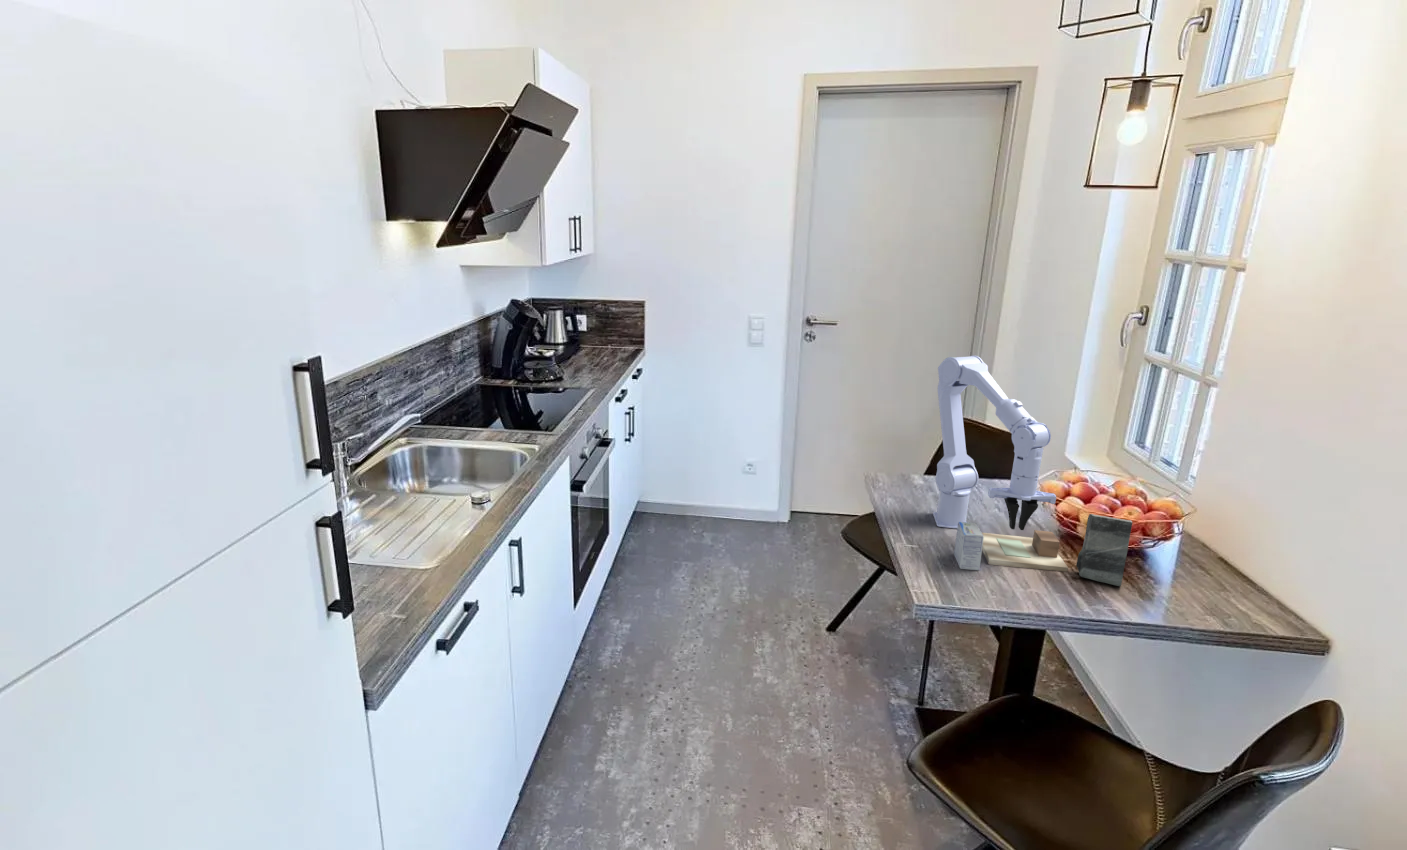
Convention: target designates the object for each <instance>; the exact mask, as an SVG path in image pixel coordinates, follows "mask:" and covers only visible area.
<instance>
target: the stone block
mask: <svg viewBox="0 0 1407 850" xmlns="http://www.w3.org/2000/svg"><path fill="white" fill-rule="evenodd" d="M1132 527H1133V521H1132V520H1128V519H1122V518H1116V517H1111V516H1104V515H1099V514H1098V515H1097V514H1093V513H1089V515H1088V517H1087V521H1086V528H1085V535H1084V538H1083V539H1084V540H1083V545H1082V549H1081V550H1080V551H1079V553H1078V556H1077V560H1076V567H1077V571H1078V574H1079V576H1080V577H1081V578H1083V579H1084V578H1085V579H1089V580H1092V581H1096V582H1098V583H1099V582H1100V583H1103V584H1104V583H1105V584H1109V585H1113V586H1117V587H1122V582H1123V579H1124V572H1125V567H1126V560H1127V554H1128V551H1129V543H1130V538H1131V532H1132Z"/></svg>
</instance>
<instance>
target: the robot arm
mask: <svg viewBox="0 0 1407 850" xmlns="http://www.w3.org/2000/svg"><path fill="white" fill-rule="evenodd" d="M937 371H938V373H937V374H938V383H937V396H938V397H937V398H938V406H939V417H940V425H941V426H940V427H941V437H942V446H943V447H942V448H943V456H942V458H941V459H940V460H939V461H938V462H937V464H936V469H937V470H936V473H935V474H936V475H935V483H936V486H937V488H938V491H939V494H938V500H937V509H936V511H933V512H932V515H933V517H934V521H935V524H936V526H937V527H940V528H948V529H949V528H950V529H957V527H958V522H967V516H968V515H967V514H968V510H969V509H968V508H969V501H970V495H971V493H973V488H975V487H976V486H977V485H978V483H979V474H978V471H977V468H976V467H975V461H974V459H973V458H972V457H971V456H970V455H968V454H967V447H966V435H965V427H964V426H965V425H964V417H963V416H964V415H963V405H962V404H963V403H962V397H961V395H962V392H963V393H964V390H965V389H966V388H967V387H968V386H974V387H976V389H977V390H979V392H980V393H981V394H982V395H983V396H985V398H986V399H987V400H988V401H989V402H990V403H991V404H992V405H993V406H994V407H995V415H996V417H997V418H998V419H999V421H1000V422H1001V423H1002V424H1003V425H1004V426H1005V428H1006V429H1007V430H1008V431H1009V432H1010V434H1011V443H1012V444H1013V447H1014V449H1013V452H1014V458H1013V464H1012V471H1011V476H1010V482H1009V487H988V494H987V496H988V497H989V498H990V499H994V498H999V499H1003V500H1004V502H1005V505H1006V509H1007V513H1008V519H1009V521H1008V523H1009V528H1010V529H1011V530H1015V528H1016V521H1017V515H1018V512H1019V508H1021V509H1020V515H1019V520H1018V526H1017V527H1018V528H1019V530H1020V531H1024V529H1025V527H1026V525H1027V523H1028V521H1029V520H1030V519H1031V516H1033V514H1034V512H1036V511H1037V509H1039V504H1038V502H1039V503H1049V504H1050V505H1051V504H1052V505H1055V504H1056V500H1057V496H1056V494H1055V493H1051V492H1046V491H1039V490H1037V488H1038V482H1039V477H1040V472H1041V471H1040V469H1041V463H1042V458H1043V453H1044V448H1045V447H1047V445H1049V443H1050V442H1051V440H1052V439H1051V437H1052V435H1051V431H1050V429H1049V428H1048V426H1047V424H1045V423H1043V422H1039V421H1037V420H1036V419H1035V418H1034V417H1033V416H1031V414H1030V413H1029V412H1028V411H1027V410H1026V409H1025V408H1024V407H1023V402H1021V401H1020V400H1017V399H1016V398H1015V399H1014V398H1008V396H1007V394H1006V393H1005V392H1004V391H1003V390H1002V388H1001V386H1000V385H999V384H998V383H997V382H996V380H995V379H994V378H993V376H992V375H991V374H990V372H989V365H987V363H985V362H984V361H983V359H982V358H981V357H980V356H978V355H970V356H969V355H968V356H958V357H957V356H955V357H953V356H949V357H946V358H945V359H943V360H942V362H941V363H940V364H939V365H938V367H937ZM1018 500H1021V505H1020V504H1019V501H1018ZM1020 506H1021V507H1020Z"/></svg>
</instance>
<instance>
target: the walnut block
mask: <svg viewBox="0 0 1407 850" xmlns="http://www.w3.org/2000/svg"><path fill="white" fill-rule="evenodd" d="M1032 538H1033V542H1032V546H1033V548H1034V549H1035V551H1036V552H1037V554H1038V556H1045V557H1054V558H1057V555H1058V554H1059V547H1060V541H1059V539H1058V538H1057V536H1056V535H1055V533H1054V532H1053V531H1047V530H1038V529H1037V530H1034V531H1033V537H1032Z"/></svg>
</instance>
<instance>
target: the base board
mask: <svg viewBox="0 0 1407 850" xmlns="http://www.w3.org/2000/svg"><path fill="white" fill-rule="evenodd" d="M982 534H983V536H984V539H983V546H982V553H983V556H984V558H985V559H986V562H987V563H988V565H991V566H1002V567H1003V566H1004V567H1012V568H1024V569H1032V570H1033V569H1035V570H1044V571H1055V572H1056V571H1057V572H1065V573H1066V572H1067V573H1068V571H1069V567H1068V565H1067V564H1066V562H1064V559H1063V558H1062V557H1061V556H1060V554H1059V553H1058V555H1057V558H1054V557H1045V556H1038V554H1037V552H1036V551H1035V549H1034V548H1033V546H1032V542H1033V537H1028V536H1020V535H1019V536H1018V535H1009V534H998V533H991V532H990V533H989V532H982Z"/></svg>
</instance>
